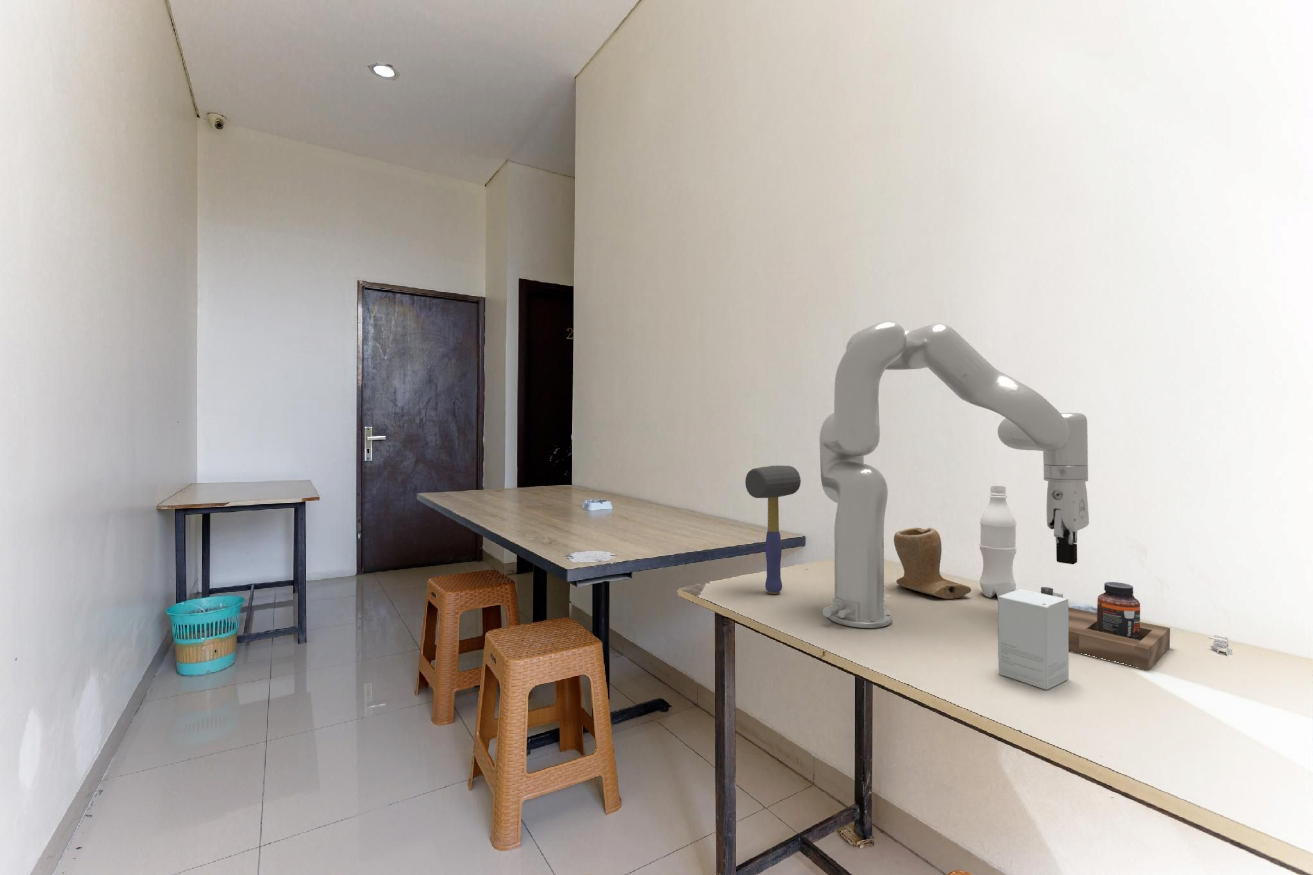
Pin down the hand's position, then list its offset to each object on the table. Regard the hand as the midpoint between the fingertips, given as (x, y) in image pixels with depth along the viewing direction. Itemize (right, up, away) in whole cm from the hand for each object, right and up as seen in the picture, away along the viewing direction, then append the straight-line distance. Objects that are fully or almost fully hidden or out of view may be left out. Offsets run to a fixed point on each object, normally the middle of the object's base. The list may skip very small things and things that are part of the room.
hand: (1066, 562), depth 123 cm
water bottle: (-7, -11, +13) cm, 18 cm away
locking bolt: (-8, -7, -6) cm, 12 cm away
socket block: (-7, -11, -14) cm, 19 cm away
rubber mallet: (-57, -11, +18) cm, 60 cm away
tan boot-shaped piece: (-21, -11, +17) cm, 29 cm away
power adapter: (+11, -12, -21) cm, 26 cm away
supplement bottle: (-3, -12, -18) cm, 22 cm away
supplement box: (-25, -12, -29) cm, 40 cm away
